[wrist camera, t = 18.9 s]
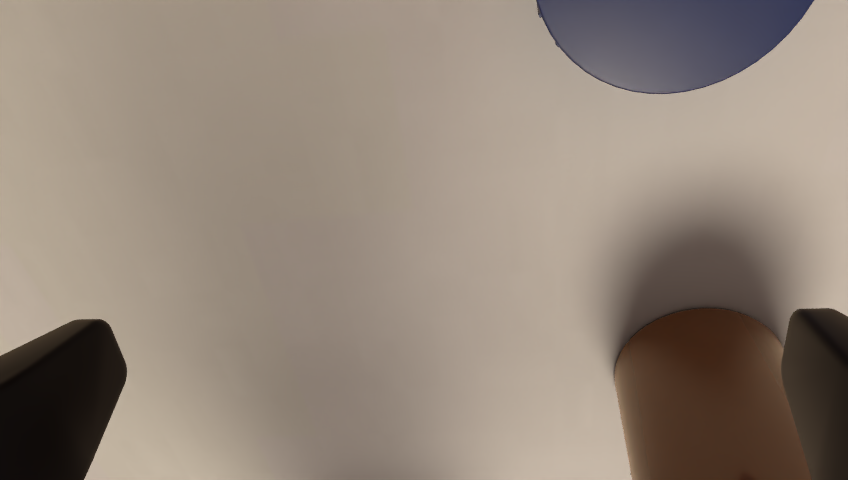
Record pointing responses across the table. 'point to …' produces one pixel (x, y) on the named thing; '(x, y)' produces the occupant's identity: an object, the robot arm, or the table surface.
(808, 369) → the robot arm
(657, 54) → the lid
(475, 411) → the table surface
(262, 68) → the table surface
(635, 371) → the jar
